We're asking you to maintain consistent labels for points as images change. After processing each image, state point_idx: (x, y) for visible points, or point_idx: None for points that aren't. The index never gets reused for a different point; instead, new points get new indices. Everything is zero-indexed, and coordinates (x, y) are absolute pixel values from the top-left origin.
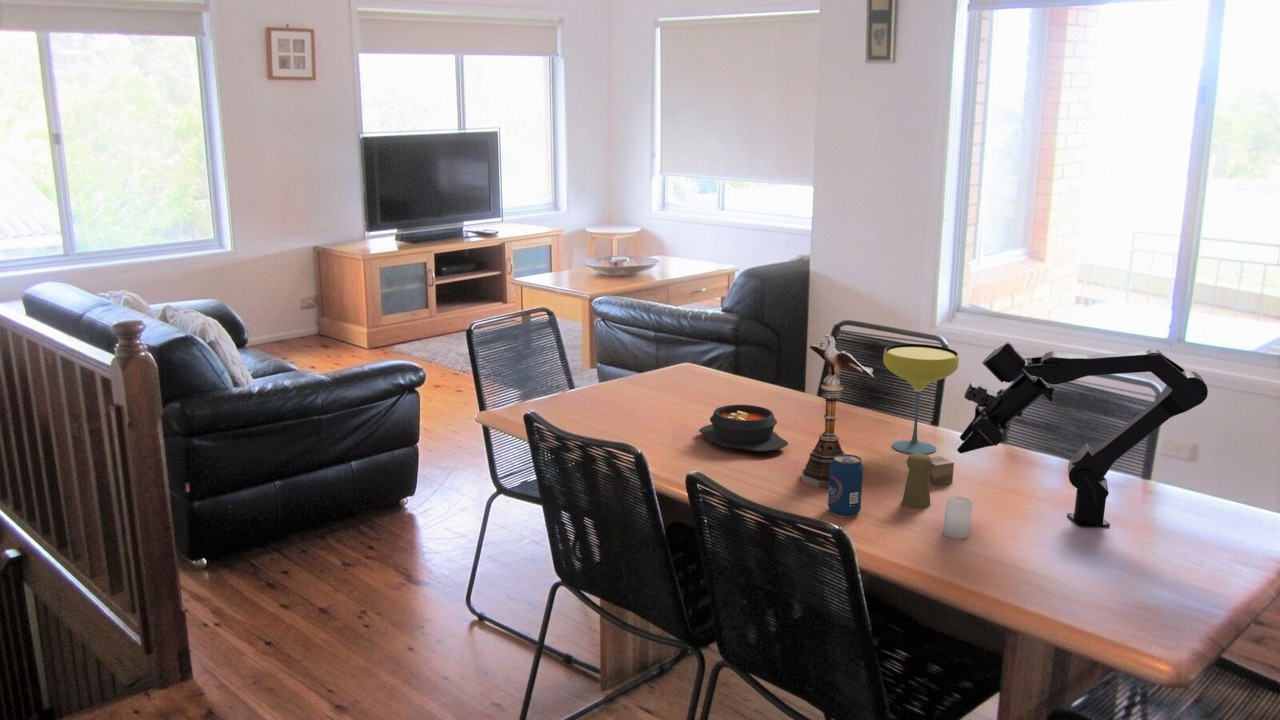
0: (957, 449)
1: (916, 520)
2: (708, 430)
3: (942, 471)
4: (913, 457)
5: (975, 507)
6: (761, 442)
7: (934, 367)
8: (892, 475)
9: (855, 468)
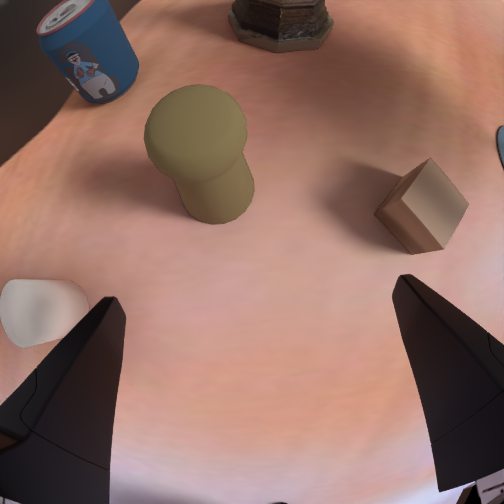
0: (103, 298)
1: (104, 212)
2: None
3: (406, 223)
4: (161, 102)
5: (254, 341)
6: None
7: None
8: (386, 116)
9: (40, 43)
